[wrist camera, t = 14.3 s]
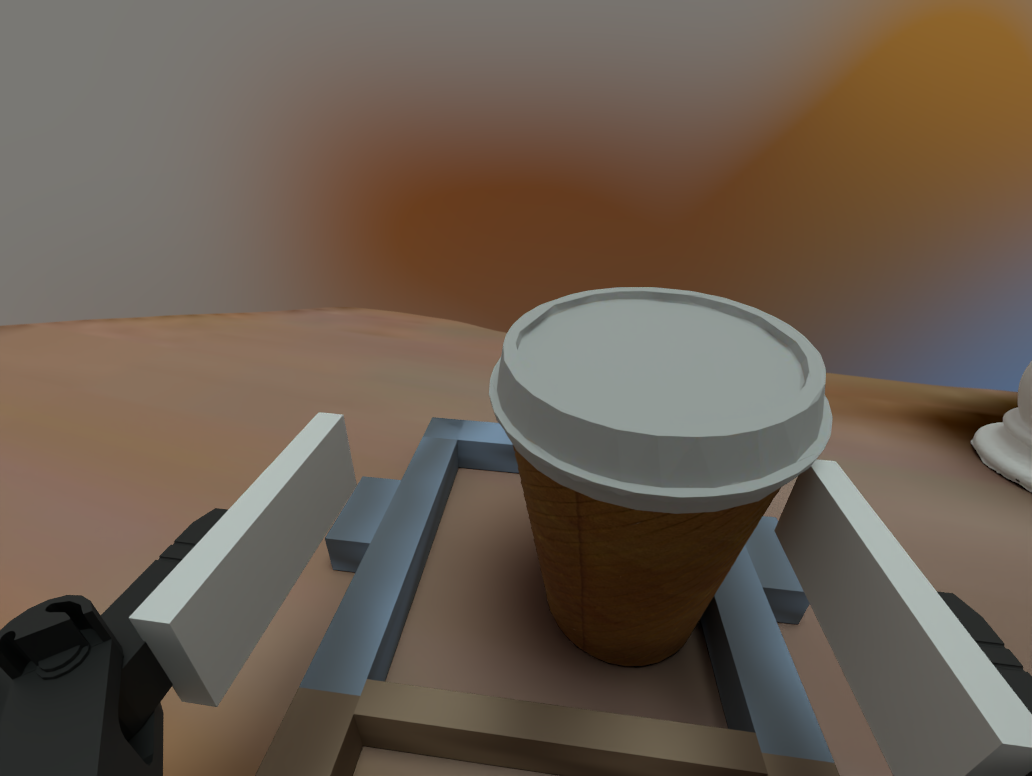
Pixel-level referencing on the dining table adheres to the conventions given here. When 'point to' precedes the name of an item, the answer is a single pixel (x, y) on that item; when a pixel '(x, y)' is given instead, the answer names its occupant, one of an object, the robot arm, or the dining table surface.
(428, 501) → the two-bay frame
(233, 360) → the dining table surface
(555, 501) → the disposable coffee cup
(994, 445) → the cherub figurine
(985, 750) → the robot arm
